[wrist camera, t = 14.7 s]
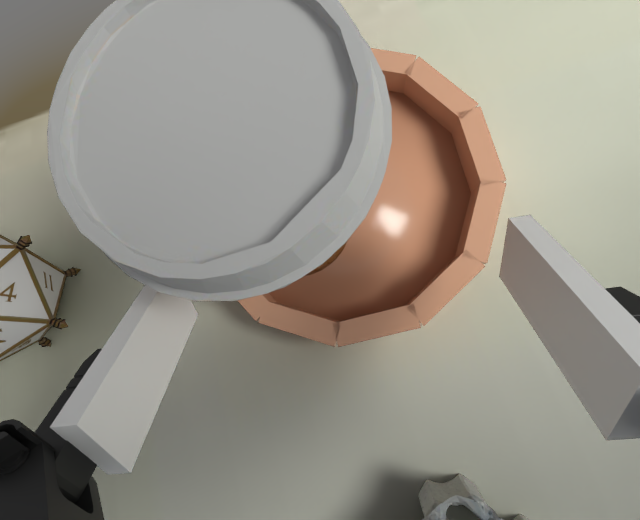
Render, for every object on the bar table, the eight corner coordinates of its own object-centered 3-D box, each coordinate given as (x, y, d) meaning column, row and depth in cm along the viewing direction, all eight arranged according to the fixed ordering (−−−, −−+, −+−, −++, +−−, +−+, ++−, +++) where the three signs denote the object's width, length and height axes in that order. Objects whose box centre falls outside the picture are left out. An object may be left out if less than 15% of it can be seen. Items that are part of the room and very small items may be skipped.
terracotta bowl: (547, 195, 19) (574, 179, 17) (339, 398, 19) (335, 411, 17) (344, 29, 22) (342, -5, 20) (166, 203, 22) (141, 191, 20)
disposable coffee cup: (241, 324, 20) (58, 348, 8) (206, 175, 21) (11, 16, 10) (401, 278, 19) (455, 229, 7) (352, 126, 21) (331, -115, 9)
